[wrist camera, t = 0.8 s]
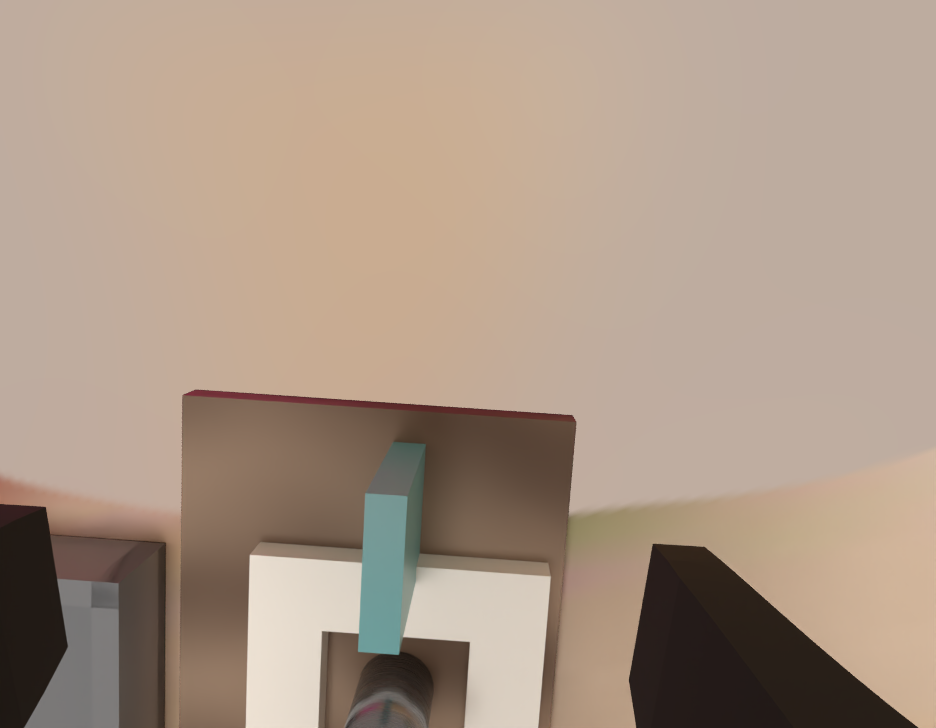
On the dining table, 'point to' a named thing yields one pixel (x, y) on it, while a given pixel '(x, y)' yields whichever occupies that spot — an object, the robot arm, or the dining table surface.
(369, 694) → the metal T-head stake
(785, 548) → the dining table surface
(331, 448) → the walnut plate
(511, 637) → the cream ring
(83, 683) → the charcoal tray
